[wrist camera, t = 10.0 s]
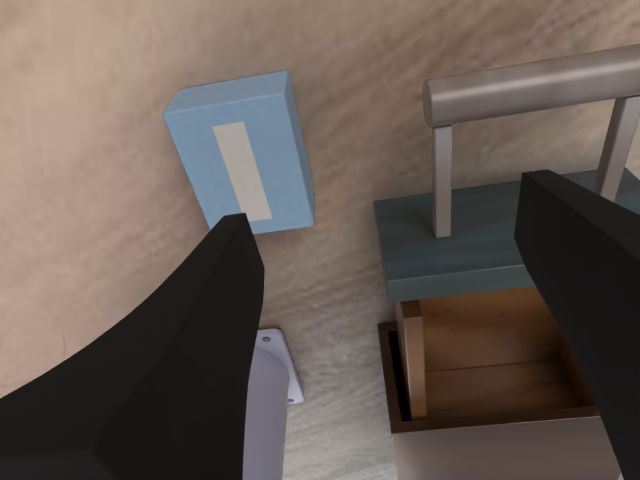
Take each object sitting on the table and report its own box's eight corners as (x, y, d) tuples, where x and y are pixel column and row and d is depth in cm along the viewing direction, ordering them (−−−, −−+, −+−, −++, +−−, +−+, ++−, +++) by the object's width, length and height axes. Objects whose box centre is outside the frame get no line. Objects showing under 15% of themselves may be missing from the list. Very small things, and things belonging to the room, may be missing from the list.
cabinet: (377, 323, 27) (391, 433, 21) (584, 300, 25) (656, 412, 20) (392, 436, 35) (405, 535, 30) (548, 424, 34) (591, 525, 29)
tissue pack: (224, 207, 21) (213, 241, 19) (179, 88, 18) (160, 114, 16) (315, 194, 21) (314, 228, 19) (288, 69, 17) (284, 92, 15)
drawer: (357, 63, 16) (369, 122, 12) (670, 8, 15) (805, 51, 11) (392, 368, 28) (404, 451, 24) (568, 351, 27) (614, 435, 23)
